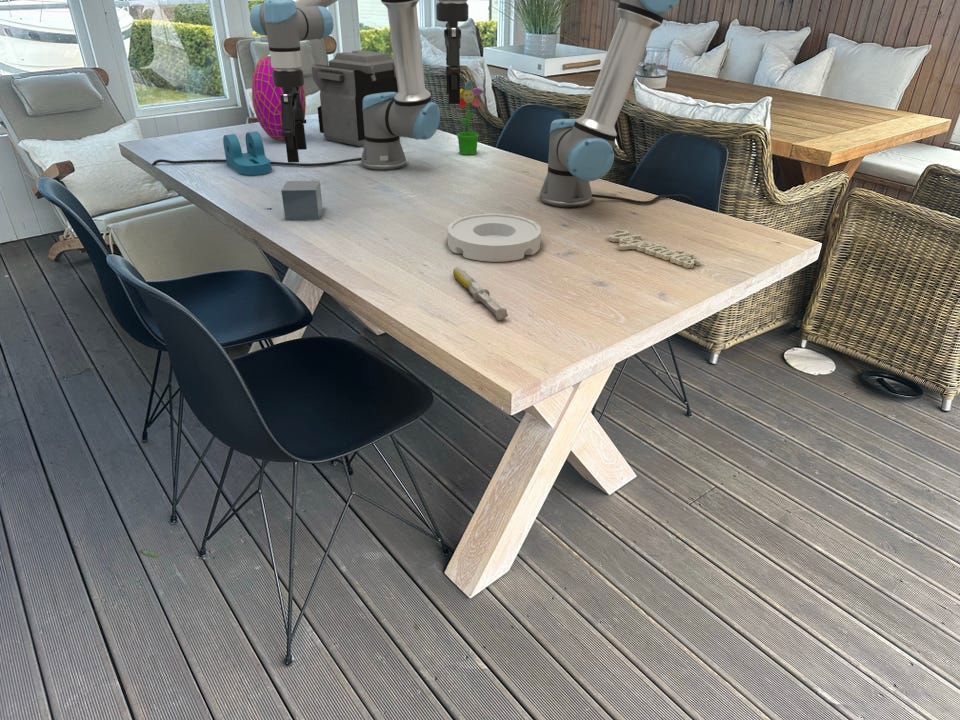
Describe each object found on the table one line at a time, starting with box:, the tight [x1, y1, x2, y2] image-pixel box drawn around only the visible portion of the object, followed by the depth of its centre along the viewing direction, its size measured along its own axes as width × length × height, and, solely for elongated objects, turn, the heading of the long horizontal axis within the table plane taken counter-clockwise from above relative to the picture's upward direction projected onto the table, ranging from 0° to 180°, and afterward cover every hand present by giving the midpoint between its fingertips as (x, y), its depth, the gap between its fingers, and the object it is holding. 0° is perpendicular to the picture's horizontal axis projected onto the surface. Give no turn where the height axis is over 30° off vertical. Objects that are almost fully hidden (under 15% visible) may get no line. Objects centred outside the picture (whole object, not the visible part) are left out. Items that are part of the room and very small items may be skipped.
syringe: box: [452, 266, 509, 321], centre depth 145 cm, size 25×4×3 cm, turn 21°
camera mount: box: [222, 131, 272, 176], centre depth 226 cm, size 18×10×10 cm, turn 35°
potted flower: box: [456, 80, 485, 156], centre depth 244 cm, size 9×8×25 cm
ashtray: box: [447, 213, 542, 263], centre depth 170 cm, size 23×23×4 cm
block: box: [280, 180, 324, 221], centre depth 188 cm, size 9×9×8 cm
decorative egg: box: [251, 55, 307, 142], centre depth 257 cm, size 19×19×30 cm
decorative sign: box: [609, 229, 701, 269], centre depth 168 cm, size 26×1×10 cm
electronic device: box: [311, 49, 398, 147], centre depth 265 cm, size 37×22×30 cm, turn 144°
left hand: (297, 155), depth 182 cm, fingers open, 13 cm apart
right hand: (453, 98), depth 170 cm, fingers open, 13 cm apart
